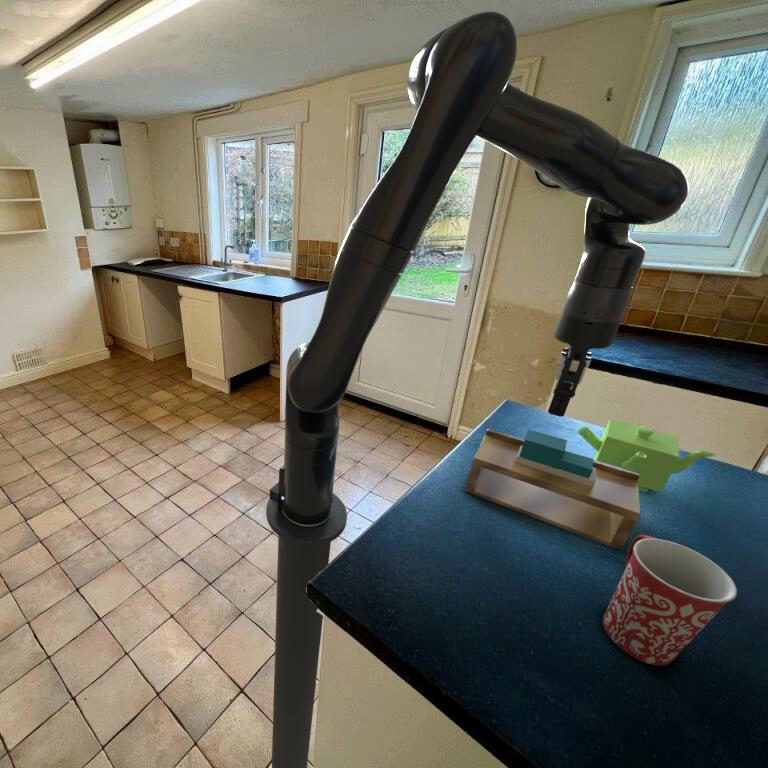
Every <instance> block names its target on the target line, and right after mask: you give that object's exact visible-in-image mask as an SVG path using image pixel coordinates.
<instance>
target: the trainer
mask: <svg viewBox="0 0 768 768" xmlns="http://www.w3.org/2000/svg"><path fill="white" fill-rule="evenodd" d="M524 439H525V441H524V443H523V446H520V449H519V452H518V455H517V458H516V461H515V462H517V463H520V464H523V465H526V466H529V467H533V468H536V469H539V470H542V471H545V472H548V473H551V474H554V475H557V476H560V477H563V478H566V479H569V480H573V481H576V482H579V483H582V484H585V485H588V486H591V487H593V486H594V484H595V481H596V468H593V460H594V458H591V457H588V456H585V455H581V454H578V453H574V452H571V451H567V450H566V448H567V442H568V440H567V439H565V438H560V437H557V436H553V435H550V434H547V433H542V432H540V431H536V430H532V429H527V432H526V435H525V438H524Z"/></svg>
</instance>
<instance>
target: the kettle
mask: <svg viewBox="0 0 768 768" xmlns="http://www.w3.org/2000/svg"><path fill="white" fill-rule="evenodd" d="M577 433H578V434H579V436H580V437H582V439H584V440H585V441H586V442H587V443H588V444H589V445H590V446H591V447H592V448H593V449H594V450H595V454H594V458H593V460H596V461H599V462H603V463H606V464H609V465H613V466H616V467H619V468H623V469H626V470H630V471H633V472H636V473H639V474H640V477H639V479H638V490H639V491H640V492H644V493H646V492H647V493H648V492H649V490H651V491H655V492H659V493H662V492H663V490H664V488H665V486H666V484H667V482H668V480H669V479H670V477H671V475H673V474H679V473H682V472H683V471H685V470H687V469H688V468H689V467H690V466H691V465H692V464H693V463H695V462H697V461H698V460H700V459H702V458H703V459H704V458H706V457H707V458H709V457H718V455H717V454H715V453H713V452H709V451H705V450H695V451H692V452H690V453H688V454H686V455H684V457H681V455H680V447H679V437H678V435H673V434H670V433H667V432H662V431H659V430H655V429H651V428H648V427H645V426H643V425H641V424H638V423H636V424H633V423H628V422H624V421H622V420H617V419H613V418H609V419H608V422H607V424H606V426H605V429H604V431H603V434H602V436H601V438H599V437H598V436H597V435H596V433H594V432H593V431H592V430H591V429H590V428H589V427H588V426H582V427H581V428H579V429H578V430H577Z"/></svg>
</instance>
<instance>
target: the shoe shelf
mask: <svg viewBox="0 0 768 768" xmlns="http://www.w3.org/2000/svg"><path fill="white" fill-rule="evenodd" d="M524 441H525V438H521V437H517V436H514V435H511V434H508V433H504V432H501V431H498V430H494V429H491V428H487V429H486V433H485V435H484V436H483V439H482V441H481V443H480V445H479V447H478V449H477V450H476V453H475V455H474V457H473V460H472V465H471V468H470V472H469V475H468V478H467V481H466V485H465V489H464V491H465V492H466V493H469V494H471V495H475V496H476V497H480V498H483V499H485V500H488V501H489V502H493V503H495V504H497V505H501V506H503V507H506V508H507V509H511V510H514V511H516V512H519V513H521V514H524V515H527V516H529V517H531V518H534V519H537V520H540V521H542V522H545V523H547V524H550V525H552V526H556V527H558V528H560V529H563V530H566V531H568V532H571V533H574V534H577V535H578V536H582V537H584V538H587V539H588V540H589V539H590V540H591V541H595V542H598V543H600V544H602V545H605V546H608V547H610V548H613V549H615V550H618V551H622V550H623V548H624V546H625V544H626V542H627V540H628V538H629V536H630V535H631V533H632V531H633V529H634V527H635V526H636V523H637V521H638V520H639V518H640V515H641V503H640V493H639V491H640V490H638V479H639V477H640V474H639V473H636V472H633V471H630V470H626V469H623V468H619V467H616V466H613V465H609V464H606V463H603V462H599V461H596V460H594V459H593V468H596V481H595V484H594V486H593V487H591V486H588V485H585V484H582V483H579V482H576V481H573V480H569V479H566V478H563V477H560V476H557V475H554V474H551V473H548V472H545V471H542V470H539V469H536V468H533V467H529V466H526V465H523V464H520V463H517V462H515V461H516V458H517V455H518V452H519V449H520V446H523V443H524Z"/></svg>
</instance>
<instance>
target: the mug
mask: <svg viewBox="0 0 768 768" xmlns="http://www.w3.org/2000/svg"><path fill="white" fill-rule="evenodd" d="M737 597H738V588H737V586H736V583H735V582H734V580H733V579H732V578H731V576H730V575H729V574H728V573H727V572H726V571H725V570H724V569H723V568H722V567H721V566H720V565H718V564H717V563H715V562H714V561H712V560H711V559H710V558H708V557H706V556H705V555H703V554H702V553H700V552H697V551H696V550H694V549H692V548H689V547H688V546H685V545H682V544H679V543H677V542H674V541H670V540H666V539H661V538H657V537H654V536H651V535H645V534H639V535H637V536H635V537H634V539H633V540H632V541H631V543H630V544H629V548H628V551H627V554H626V558H625V564H624V571H623V574H622V576H621V578H620V580H619V582H618V585H617V587H616V589H615V591H614V593H613V595H612V597H611V599H610V602H609V604H608V607H607V608H606V611H605V612H604V615H603V618H602V625H603V629H604V630H605V632H606V634H607V636H608V637H609V638H610V640H611V641H612V642H613V643H614V644H615V645H616V647H617V646H618V648H619V649H621V650H622V651H623V652H625V653H626V654H628V655H629V656H631V657H632V658H635V659H637V660H638V661H640V662H642V663H644V664H648V665H653V666H668V665H669V664H671V663H672V662H673V661H674V660H675V659H676V658H677V657H678V656H679V655H680V653H681V652H682V651H683V650H684V649H685V647H686V646H687V645H688V644H690V643H691V642H692V640H693V639H695V637H696V636H697V635H698V634H700V632H701V631H702V630H703V629H704V628H705V627H706V626H707V625H708V624H709V623H710V622H711V620H712V619H714V617H715V616H716V615H717V614H718V613H719V612H720V611H721V610H722V608H724V607H725V606H726V604H728V603H731V602H733V601H734V600H735V599H736V598H737Z"/></svg>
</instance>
